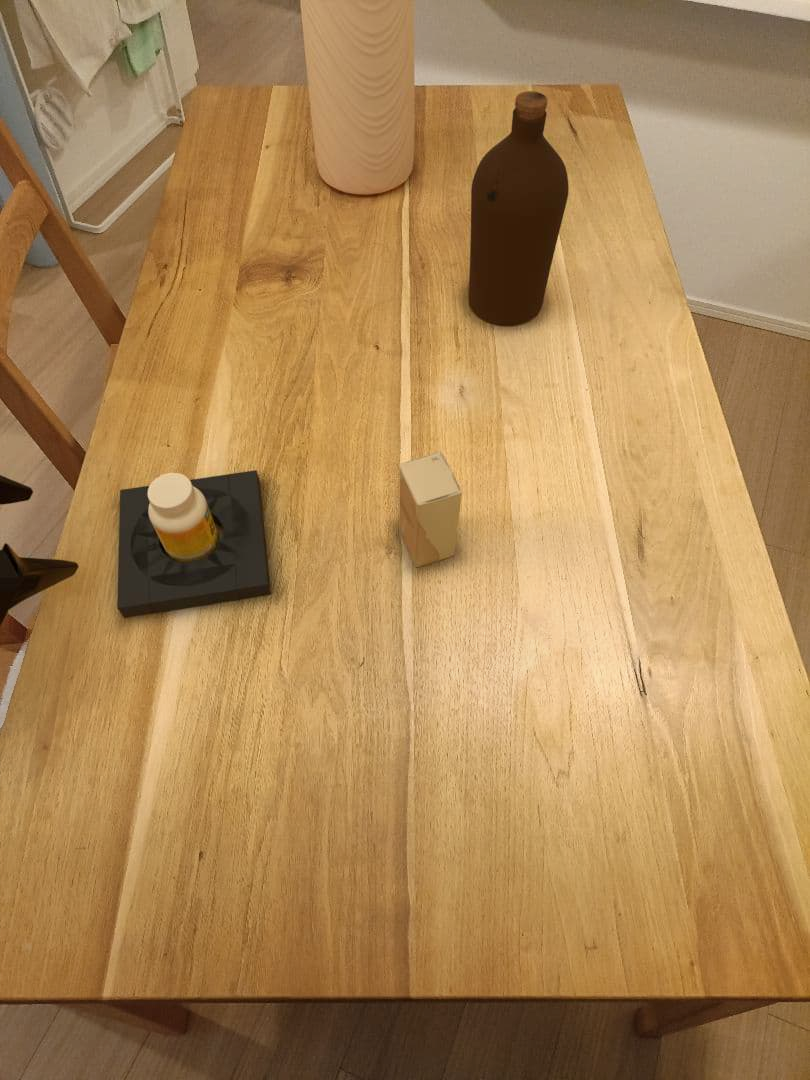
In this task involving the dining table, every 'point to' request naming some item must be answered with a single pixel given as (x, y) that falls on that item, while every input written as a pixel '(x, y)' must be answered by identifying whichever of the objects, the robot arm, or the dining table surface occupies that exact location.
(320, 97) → the vase
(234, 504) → the socket pad
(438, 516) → the box
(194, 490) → the supplement bottle
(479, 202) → the olive oil
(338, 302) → the dining table surface
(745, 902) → the dining table surface
